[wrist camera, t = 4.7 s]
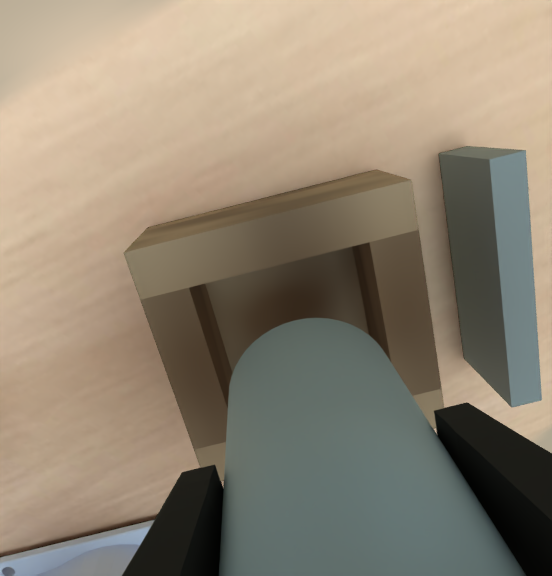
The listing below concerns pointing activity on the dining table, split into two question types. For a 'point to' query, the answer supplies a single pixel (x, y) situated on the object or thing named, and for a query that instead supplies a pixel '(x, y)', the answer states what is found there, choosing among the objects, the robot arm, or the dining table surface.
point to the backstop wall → (494, 267)
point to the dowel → (342, 468)
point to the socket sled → (285, 288)
